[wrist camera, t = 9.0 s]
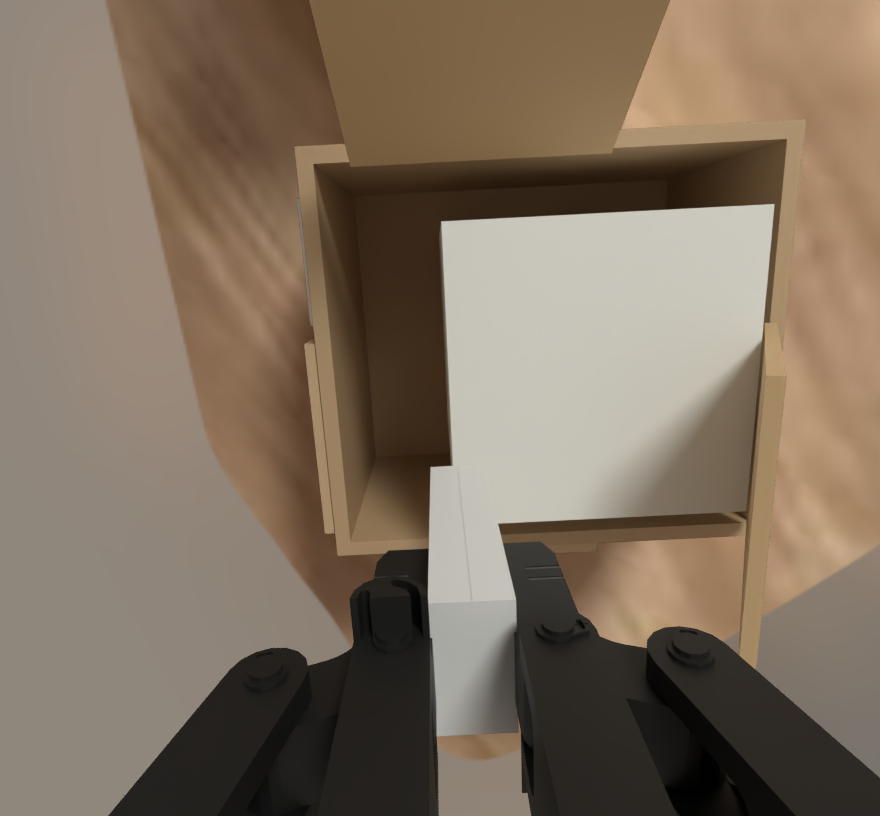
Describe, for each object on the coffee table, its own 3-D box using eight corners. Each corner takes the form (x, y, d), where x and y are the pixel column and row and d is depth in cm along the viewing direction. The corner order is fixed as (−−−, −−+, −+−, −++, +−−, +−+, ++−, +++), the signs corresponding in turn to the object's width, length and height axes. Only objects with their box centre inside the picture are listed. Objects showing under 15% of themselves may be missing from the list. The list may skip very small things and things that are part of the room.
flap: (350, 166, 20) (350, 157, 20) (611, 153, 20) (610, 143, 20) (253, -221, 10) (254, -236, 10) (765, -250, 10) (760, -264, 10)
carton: (332, 186, 31) (243, 122, 16) (677, 167, 31) (889, 87, 16) (359, 472, 35) (305, 620, 21) (662, 457, 35) (821, 595, 20)
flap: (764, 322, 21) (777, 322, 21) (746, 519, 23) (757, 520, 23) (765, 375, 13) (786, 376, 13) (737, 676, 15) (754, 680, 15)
